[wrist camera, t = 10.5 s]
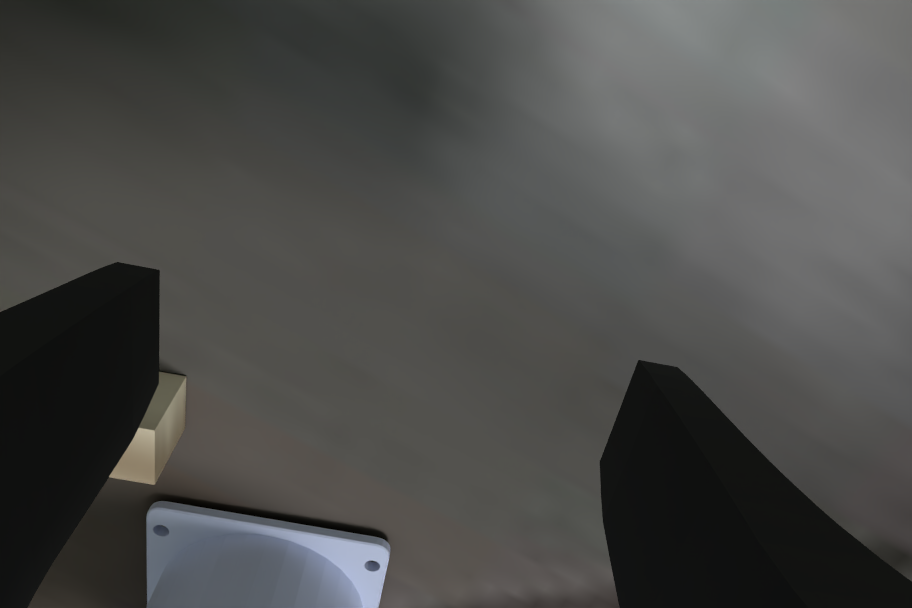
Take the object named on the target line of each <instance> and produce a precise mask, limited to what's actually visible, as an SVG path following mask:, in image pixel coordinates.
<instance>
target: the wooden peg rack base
mask: <svg viewBox="0 0 912 608" xmlns="http://www.w3.org/2000/svg"><path fill="white" fill-rule="evenodd" d="M185 410H186V376H181V375H175V374H169V373H164V372H159V384H158V386H157V389H156V391H155V393H154V395H153V398H152V400H151V402H150V404H149V407H148V409H147V411H146V413H145V415H144V417H143V420H142V422H141V424H140V426H139V428H138V430H137V432H136V434H135V436H134V438H133V440H132V442H131V443H130V445H129V446H128V448H127V449H126V451H125V453H124V454H123V456H122V457H121V459H120V460H119V462H118V464H117V465H116V467H115V468H114V470H113V471H112V473H111V474H110V476H109V477H111V478H117V479H123V480H128V481H134V482H140V483H146V484H152V485H155V483H156V482H157V480H158V478H159V476H160V474H161V472H162V470H163V469H164V467H165V465H166V463H167V461H168V459H169V457H170V455H171V454H172V452H173V450H174V448H175V446H176V444H177V442H178V440H179V439H180V437H181V435H182V433H183V431H184V429H185Z"/></svg>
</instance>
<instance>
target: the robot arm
mask: <svg viewBox="0 0 912 608" xmlns="http://www.w3.org/2000/svg"><path fill="white" fill-rule="evenodd" d="M159 275H160V270H156V269H151V268H146V267H141V266H135V265H130V264H125V263H119V262H117V263H114V264H111V265H108V266H105V267H103V268H100V269H98V270H95V271H93V272H90V273H88V274H86V275H84V276H81V277H79V278H77V279H74V280H72V281H70V282H68V283H65V284H63V285H61V286H59V287H57V288H54V289H52V290H50V291H48V292H45V293H43V294H41V295H38V296H36V297H34V298H32V299H29V300H27V301H25V302H23V303H20V304H18V305H16V306H13V307H11V308H9V309H7V310H4V311H2V312H0V608H27V607H28V605H29V603H30V601H31V599H32V598H33V596H34V594H35V592H36V590H37V588H38V587H39V585H40V583H41V582H42V580H43V578H44V577H45V575H46V573H47V571H48V570H49V568H50V566H51V565H52V563H53V561H54V560H55V558H56V557H57V555H58V554H59V552H60V551H61V549H62V548H63V546H64V545H65V543H66V542H67V540H68V539H69V537H70V536H71V534H72V532H73V531H74V529H75V528H76V526H77V525H78V523H79V522H80V520H81V519H82V517H83V516H84V514H85V513H86V511H87V510H88V508H89V507H90V505H91V504H92V502H93V500H94V499H95V497H96V496H97V494H98V493H99V491H100V490H101V488H102V487H103V485H104V484H105V482H106V481H107V479H108V478H109V476H110V474H111V473H112V471H113V470H114V468H115V467H116V465H117V464H118V462H119V460H120V459H121V457H122V456H123V454H124V453H125V451H126V449H127V448H128V446H129V445H130V443H131V442H132V440H133V438H134V436H135V434H136V432H137V430H138V428H139V426H140V424H141V422H142V420H143V417H144V415H145V413H146V411H147V409H148V407H149V404H150V402H151V400H152V398H153V395H154V393H155V391H156V389H157V386H158V384H159ZM600 478H601V499H602V514H603V524H604V529H605V535H606V540H607V545H608V551H609V556H610V561H611V566H612V571H613V576H614V581H615V586H616V591H617V596H618V601H619V606H620V608H912V581H910V580H909V579H907V578H906V577H905V576H903V575H902V574H901V573H899V572H898V571H897V570H895V569H894V568H892V567H891V566H890V565H888V564H887V563H886V562H884V561H883V560H882V559H881V558H879V557H878V556H877V555H875V554H874V553H873V552H872V551H871V550H869V549H868V548H867V547H866V546H864V545H863V544H862V543H861V542H859V541H858V540H857V539H856V538H854V537H853V536H852V535H851V534H849V533H848V532H847V531H846V530H844V529H843V528H842V527H841V526H839V525H838V524H837V523H836V522H835V521H834V520H832V519H831V518H830V517H829V516H828V515H827V514H825V513H824V512H823V511H822V510H821V509H820V508H819V507H817V506H816V505H815V504H814V503H813V502H812V501H811V500H810V499H809V498H808V497H807V496H806V495H805V494H803V493H802V492H801V491H800V490H799V489H798V488H797V487H796V486H795V485H794V484H793V483H792V482H790V481H789V480H788V479H787V478H786V477H785V476H784V475H783V474H782V473H781V472H780V471H779V470H778V469H777V468H776V467H775V466H774V465H773V464H772V463H771V462H770V461H769V460H768V459H767V458H766V457H765V456H764V455H763V454H762V453H761V452H760V451H759V450H758V449H757V448H756V447H755V446H754V445H753V444H752V443H751V442H750V441H749V440H748V439H747V438H746V437H745V436H744V435H743V434H742V433H741V432H740V430H739V429H738V428H737V427H736V426H735V425H734V424H733V423H732V422H731V421H730V420H729V419H728V418H727V417H726V416H725V415H724V414H723V413H722V411H721V410H720V409H719V408H718V407H717V406H716V405H715V404H714V403H713V402H712V401H711V400H710V399H709V398H708V397H707V396H706V395H705V394H704V392H703V391H702V390H701V389H700V388H699V387H698V386H697V385H696V384H695V383H694V382H693V381H692V380H691V379H690V378H689V377H688V376H687V375H686V374H685V373H683V372H682V371H681V370H680V369H679V368H678V367H673V366H668V365H663V364H657V363H652V362H647V361H641V360H638V363H637V365H636V368H635V371H634V373H633V376H632V379H631V381H630V384H629V387H628V389H627V392H626V394H625V397H624V400H623V402H622V405H621V408H620V410H619V413H618V415H617V418H616V421H615V423H614V426H613V429H612V431H611V434H610V437H609V439H608V442H607V444H606V447H605V450H604V452H603V455H602V458H601V460H600ZM161 525H163V526H165V527H163V526H161ZM146 533H147V607H146V608H378V607H379V602H380V598H381V593H382V588H383V584H384V579H385V575H386V570H387V566H388V561H389V556H390V545H389V543H388V542H387V541H385V540H384V539H382V538H379V537H374V536H368V535H362V534H356V533H350V532H345V531H339V530H333V529H327V528H321V527H315V526H309V525H303V524H297V523H292V522H286V521H280V520H274V519H268V518H262V517H256V516H250V515H244V514H239V513H233V512H227V511H221V510H215V509H209V508H203V507H197V506H191V505H185V504H180V503H174V502H168V501H158V502H155V503H153V504H152V505H151V507H150V508H149V510H148V512H147V516H146ZM371 561H376V562H371Z"/></svg>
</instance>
